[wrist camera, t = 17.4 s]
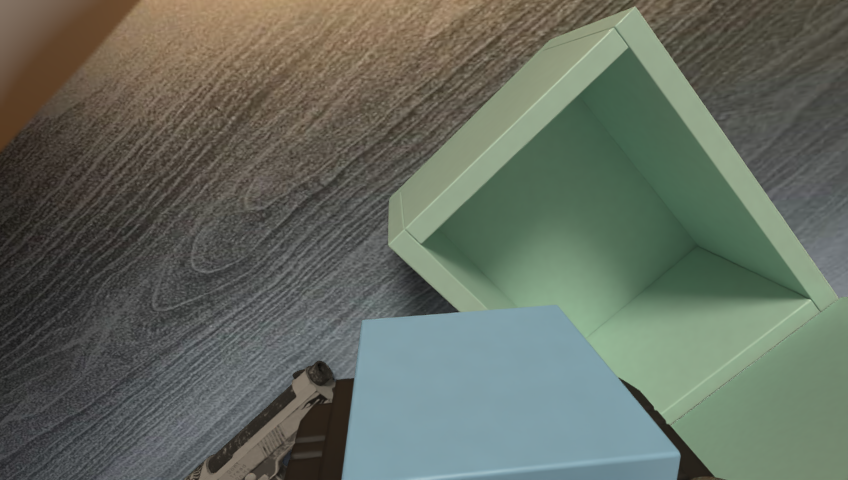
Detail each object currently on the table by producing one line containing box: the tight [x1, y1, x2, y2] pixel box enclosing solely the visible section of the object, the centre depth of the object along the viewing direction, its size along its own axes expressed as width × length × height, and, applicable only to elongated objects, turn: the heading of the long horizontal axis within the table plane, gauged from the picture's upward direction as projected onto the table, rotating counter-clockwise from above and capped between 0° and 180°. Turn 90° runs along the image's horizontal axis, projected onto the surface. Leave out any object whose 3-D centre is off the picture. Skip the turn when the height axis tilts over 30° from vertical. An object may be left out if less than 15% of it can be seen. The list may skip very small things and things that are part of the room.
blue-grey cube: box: [341, 305, 681, 480], centre depth 9 cm, size 5×5×5 cm
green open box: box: [388, 7, 839, 425], centre depth 24 cm, size 17×13×9 cm
